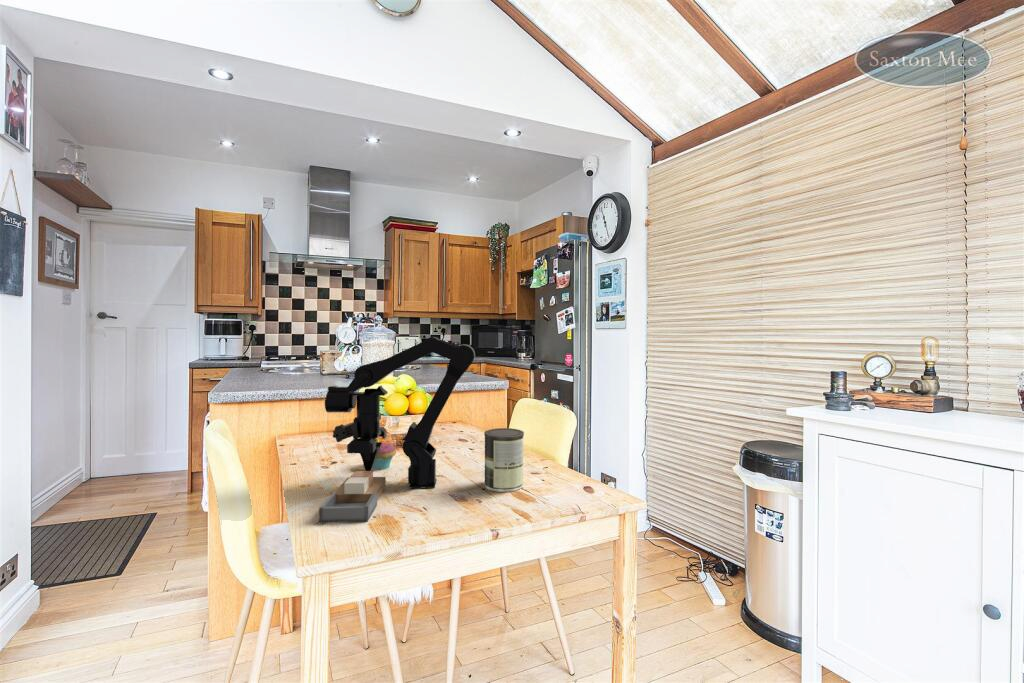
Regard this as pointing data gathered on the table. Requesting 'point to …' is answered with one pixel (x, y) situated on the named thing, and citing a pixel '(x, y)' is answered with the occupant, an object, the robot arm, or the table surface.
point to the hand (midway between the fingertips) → (368, 472)
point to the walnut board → (375, 486)
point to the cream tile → (356, 485)
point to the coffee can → (503, 459)
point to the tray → (346, 510)
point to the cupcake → (384, 456)
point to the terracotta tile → (364, 475)
